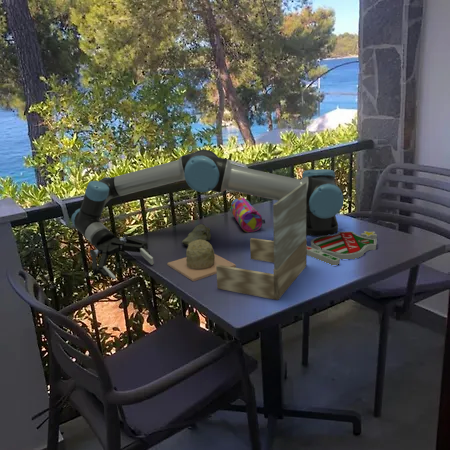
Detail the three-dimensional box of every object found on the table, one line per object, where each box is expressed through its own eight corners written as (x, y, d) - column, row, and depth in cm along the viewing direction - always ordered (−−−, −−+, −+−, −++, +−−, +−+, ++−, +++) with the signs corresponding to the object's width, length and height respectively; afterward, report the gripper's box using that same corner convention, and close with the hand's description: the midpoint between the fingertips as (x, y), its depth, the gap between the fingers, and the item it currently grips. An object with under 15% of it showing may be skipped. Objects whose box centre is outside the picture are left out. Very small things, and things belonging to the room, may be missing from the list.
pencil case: (266, 231, 180) (265, 209, 178) (242, 234, 179) (241, 212, 176) (250, 215, 201) (249, 195, 198) (229, 218, 199) (228, 197, 196)
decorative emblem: (294, 244, 161) (354, 225, 177) (294, 250, 162) (354, 231, 178) (335, 261, 147) (396, 238, 162) (334, 268, 147) (396, 244, 163)
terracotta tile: (208, 252, 163) (208, 250, 163) (235, 267, 150) (235, 264, 150) (167, 265, 154) (167, 262, 154) (193, 281, 142) (192, 279, 142)
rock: (182, 251, 168) (209, 247, 167) (178, 235, 167) (205, 230, 165) (187, 241, 179) (213, 237, 177) (183, 225, 177) (209, 221, 175)
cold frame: (217, 288, 137) (212, 198, 128) (252, 257, 157) (249, 178, 148) (278, 300, 128) (276, 205, 120) (306, 266, 149) (307, 182, 140)
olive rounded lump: (214, 278, 150) (226, 248, 151) (189, 268, 144) (201, 238, 145) (199, 271, 157) (211, 243, 158) (175, 261, 152) (187, 233, 153)
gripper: (133, 231, 172) (167, 262, 159) (68, 261, 158) (100, 297, 146) (131, 215, 167) (165, 245, 155) (64, 244, 154) (97, 280, 142)
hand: (134, 271), depth 150 cm, fingers open, 13 cm apart
